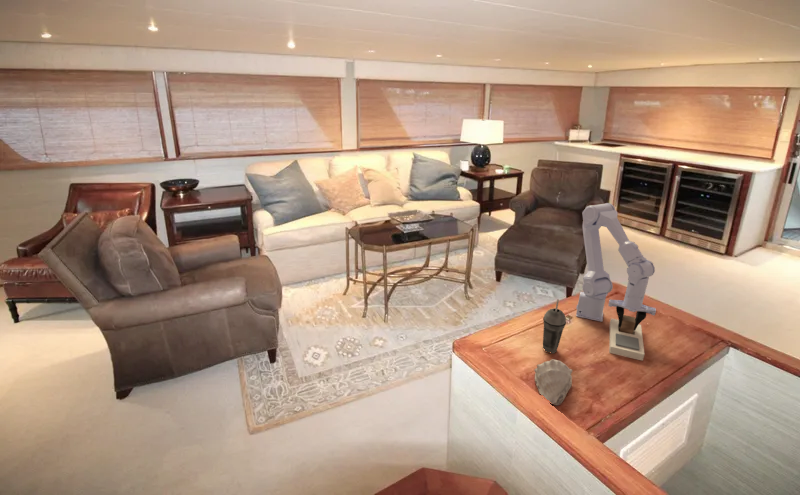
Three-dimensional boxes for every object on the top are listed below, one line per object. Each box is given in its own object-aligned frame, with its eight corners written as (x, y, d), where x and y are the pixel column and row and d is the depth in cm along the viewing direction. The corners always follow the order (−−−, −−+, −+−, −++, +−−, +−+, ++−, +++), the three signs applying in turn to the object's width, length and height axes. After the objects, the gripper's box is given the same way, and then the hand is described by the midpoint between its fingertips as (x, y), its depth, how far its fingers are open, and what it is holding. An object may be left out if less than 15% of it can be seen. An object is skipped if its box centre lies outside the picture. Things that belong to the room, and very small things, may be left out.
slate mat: (615, 345, 141) (616, 343, 141) (615, 334, 147) (615, 333, 147) (639, 350, 138) (639, 349, 138) (638, 339, 144) (638, 338, 144)
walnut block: (618, 336, 150) (622, 320, 147) (618, 331, 153) (622, 314, 151) (631, 339, 148) (635, 322, 146) (630, 333, 152) (634, 317, 149)
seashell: (547, 409, 117) (552, 380, 113) (526, 376, 130) (530, 349, 126) (587, 405, 118) (594, 376, 115) (563, 373, 131) (568, 347, 127)
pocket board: (609, 352, 141) (610, 346, 140) (609, 323, 158) (611, 318, 157) (642, 360, 137) (644, 354, 136) (639, 330, 154) (641, 324, 153)
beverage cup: (561, 346, 144) (571, 295, 137) (559, 358, 138) (569, 305, 131) (540, 341, 147) (548, 290, 140) (537, 352, 141) (545, 300, 133)
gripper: (611, 294, 144) (604, 327, 149) (660, 303, 138) (650, 338, 143) (611, 285, 150) (604, 318, 155) (658, 294, 144) (649, 327, 149)
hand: (626, 327), depth 150 cm, fingers closed on walnut block, 4 cm apart
